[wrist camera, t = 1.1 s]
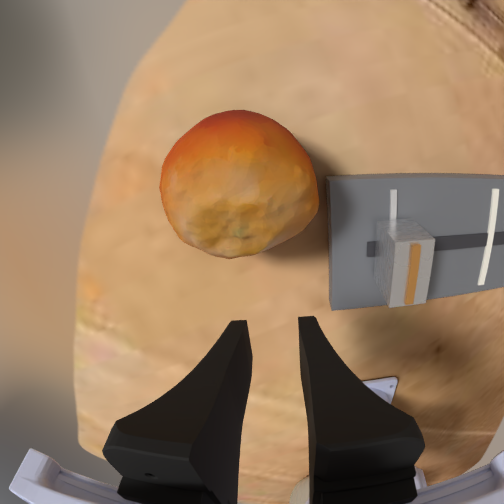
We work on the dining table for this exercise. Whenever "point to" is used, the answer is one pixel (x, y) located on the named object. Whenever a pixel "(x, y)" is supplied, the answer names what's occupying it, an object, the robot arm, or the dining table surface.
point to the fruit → (238, 185)
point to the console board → (429, 218)
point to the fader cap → (403, 261)
